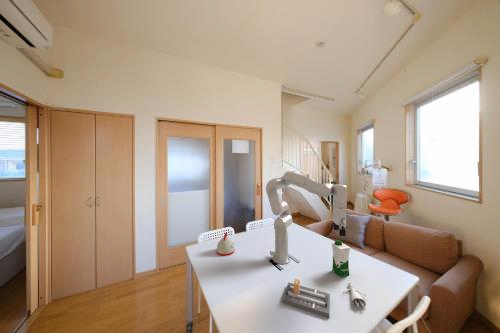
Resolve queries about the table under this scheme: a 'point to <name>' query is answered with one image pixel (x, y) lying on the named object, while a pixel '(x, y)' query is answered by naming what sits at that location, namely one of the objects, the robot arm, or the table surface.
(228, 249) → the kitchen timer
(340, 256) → the milk carton
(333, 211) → the robot arm
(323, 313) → the console
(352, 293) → the woman figurine
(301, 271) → the table surface
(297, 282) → the fader
